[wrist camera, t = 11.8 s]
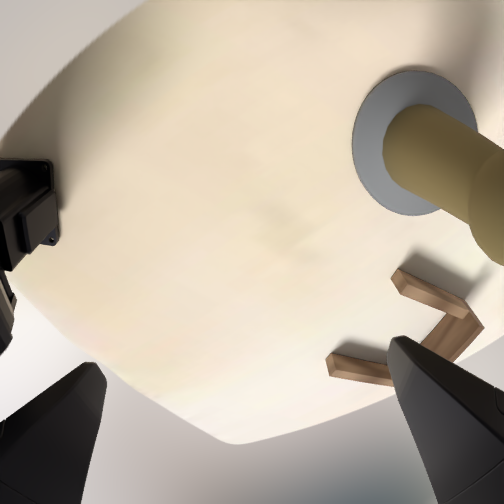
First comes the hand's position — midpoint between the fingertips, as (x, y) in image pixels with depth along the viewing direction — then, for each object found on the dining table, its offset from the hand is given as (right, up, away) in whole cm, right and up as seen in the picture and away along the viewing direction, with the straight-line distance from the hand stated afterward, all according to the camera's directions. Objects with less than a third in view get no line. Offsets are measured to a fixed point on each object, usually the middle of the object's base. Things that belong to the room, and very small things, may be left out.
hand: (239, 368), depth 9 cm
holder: (+13, -4, +18) cm, 23 cm away
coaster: (+11, +10, +9) cm, 18 cm away
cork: (+11, +10, +9) cm, 18 cm away
